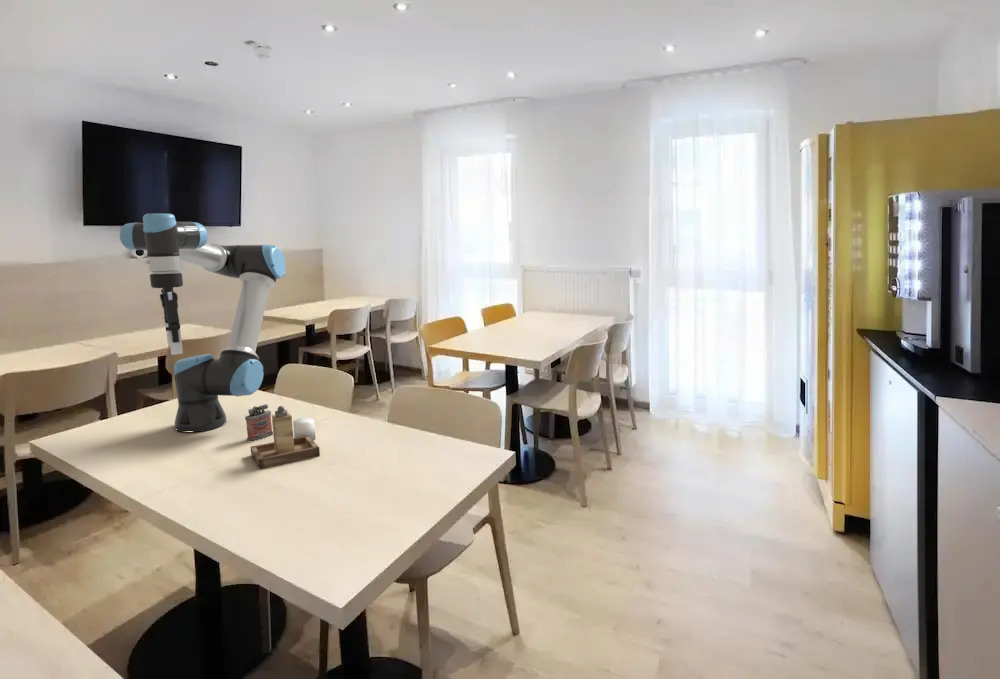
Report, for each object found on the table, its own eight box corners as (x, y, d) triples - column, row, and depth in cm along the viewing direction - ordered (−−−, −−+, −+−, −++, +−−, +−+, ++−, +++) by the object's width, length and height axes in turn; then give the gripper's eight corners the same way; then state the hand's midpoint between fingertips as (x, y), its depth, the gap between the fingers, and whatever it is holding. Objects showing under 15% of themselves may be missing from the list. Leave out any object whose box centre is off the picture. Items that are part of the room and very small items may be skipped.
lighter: (251, 442, 173) (247, 410, 171) (245, 440, 175) (241, 408, 173) (275, 434, 180) (272, 403, 178) (269, 432, 182) (266, 402, 180)
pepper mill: (275, 452, 163) (270, 405, 160) (291, 448, 165) (286, 402, 163) (278, 456, 159) (274, 409, 157) (294, 453, 162) (290, 406, 159)
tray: (251, 455, 163) (250, 446, 163) (308, 443, 172) (308, 435, 171) (259, 469, 153) (258, 460, 153) (319, 455, 162) (319, 447, 161)
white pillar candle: (292, 438, 176) (291, 419, 175) (312, 434, 179) (311, 416, 178) (297, 444, 171) (295, 425, 170) (317, 440, 174) (316, 421, 173)
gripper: (147, 271, 162) (157, 344, 166) (151, 275, 142) (162, 359, 146) (178, 269, 166) (186, 341, 170) (185, 274, 146) (195, 355, 149)
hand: (175, 350), depth 158 cm, fingers open, 13 cm apart
